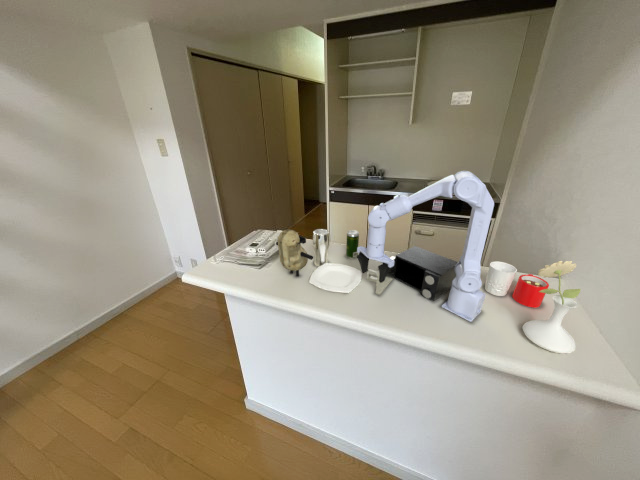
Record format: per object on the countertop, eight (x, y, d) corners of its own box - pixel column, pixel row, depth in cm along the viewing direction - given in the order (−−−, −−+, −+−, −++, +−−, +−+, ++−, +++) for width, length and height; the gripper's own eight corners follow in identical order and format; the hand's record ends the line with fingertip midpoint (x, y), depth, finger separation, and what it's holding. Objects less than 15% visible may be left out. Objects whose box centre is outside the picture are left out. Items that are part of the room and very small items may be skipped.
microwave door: (362, 288, 94) (364, 265, 90) (377, 273, 104) (379, 252, 100) (379, 295, 91) (382, 271, 87) (393, 279, 100) (396, 257, 96)
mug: (535, 290, 93) (543, 272, 90) (543, 310, 83) (552, 290, 80) (509, 285, 96) (515, 266, 93) (513, 303, 87) (521, 283, 83)
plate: (366, 273, 104) (367, 269, 103) (351, 301, 88) (351, 296, 87) (323, 264, 111) (323, 260, 111) (302, 287, 96) (302, 283, 95)
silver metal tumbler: (332, 262, 113) (332, 230, 107) (323, 269, 108) (323, 236, 101) (318, 258, 116) (318, 227, 110) (310, 264, 111) (309, 232, 105)
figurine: (322, 276, 102) (322, 230, 94) (301, 290, 94) (298, 241, 86) (289, 261, 114) (286, 219, 105) (267, 272, 106) (262, 227, 97)
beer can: (360, 256, 117) (361, 232, 112) (351, 260, 114) (353, 235, 109) (351, 252, 121) (352, 229, 116) (343, 255, 118) (344, 232, 113)
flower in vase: (563, 332, 74) (602, 256, 64) (581, 363, 65) (630, 280, 54) (510, 320, 79) (538, 248, 69) (519, 347, 70) (553, 268, 59)
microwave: (432, 302, 87) (437, 277, 83) (388, 279, 100) (391, 257, 96) (453, 285, 96) (459, 262, 92) (411, 267, 109) (414, 245, 104)
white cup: (482, 282, 98) (489, 259, 94) (507, 288, 94) (516, 264, 90) (482, 292, 92) (489, 269, 88) (508, 299, 88) (518, 275, 84)
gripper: (401, 245, 83) (396, 281, 88) (367, 232, 93) (364, 265, 98) (388, 252, 78) (384, 289, 84) (353, 237, 89) (352, 271, 94)
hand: (372, 276), depth 91 cm, fingers open, 7 cm apart
